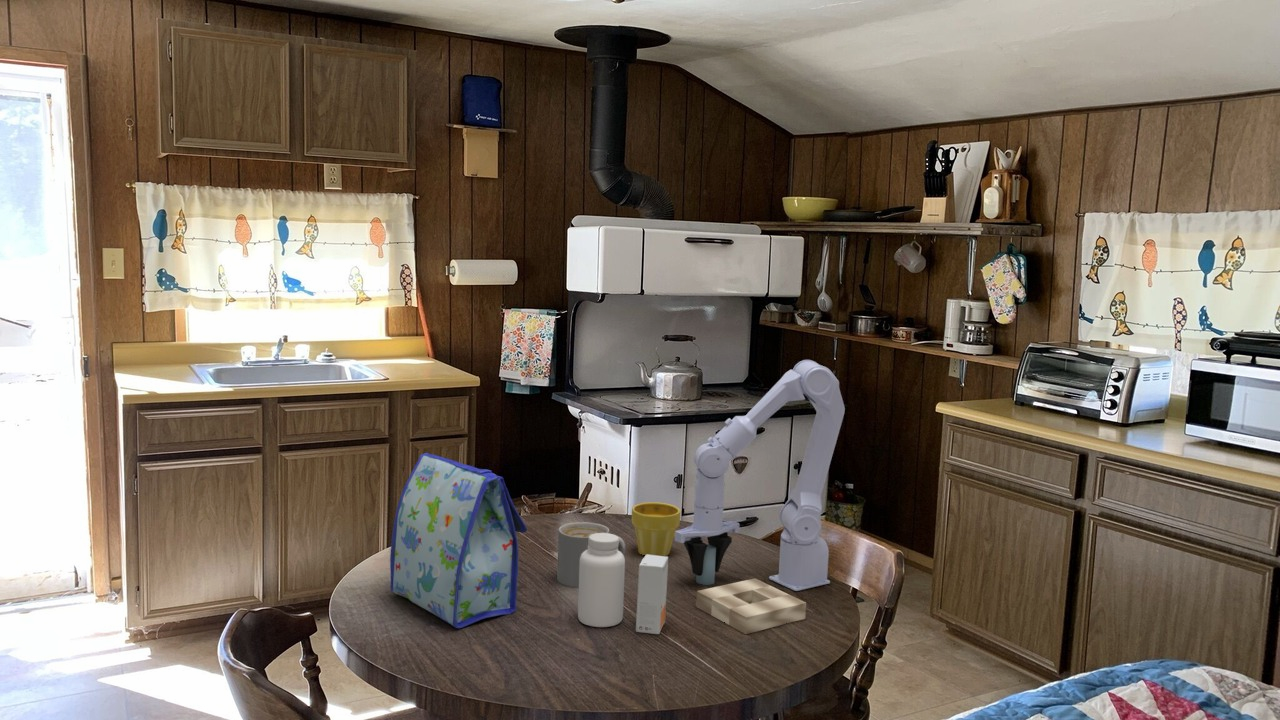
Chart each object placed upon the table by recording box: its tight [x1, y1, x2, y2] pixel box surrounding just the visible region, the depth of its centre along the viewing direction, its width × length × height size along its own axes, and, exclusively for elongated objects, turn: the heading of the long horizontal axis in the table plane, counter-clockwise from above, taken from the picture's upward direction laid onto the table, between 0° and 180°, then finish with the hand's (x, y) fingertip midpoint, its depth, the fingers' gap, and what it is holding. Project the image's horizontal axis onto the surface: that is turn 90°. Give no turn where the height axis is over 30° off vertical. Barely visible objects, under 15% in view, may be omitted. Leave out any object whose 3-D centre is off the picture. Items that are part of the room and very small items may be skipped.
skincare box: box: [635, 554, 669, 635], centre depth 165 cm, size 6×4×12 cm
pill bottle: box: [577, 532, 626, 628], centre depth 167 cm, size 8×8×15 cm
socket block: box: [695, 577, 807, 635], centre depth 174 cm, size 14×14×3 cm
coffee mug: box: [556, 521, 626, 589], centre depth 187 cm, size 13×10×10 cm
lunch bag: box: [389, 452, 528, 629], centre depth 171 cm, size 22×17×26 cm
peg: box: [695, 544, 716, 586], centre depth 188 cm, size 4×4×7 cm
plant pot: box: [631, 501, 681, 557], centre depth 204 cm, size 10×10×10 cm
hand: (705, 572), depth 188 cm, fingers closed on peg, 4 cm apart
